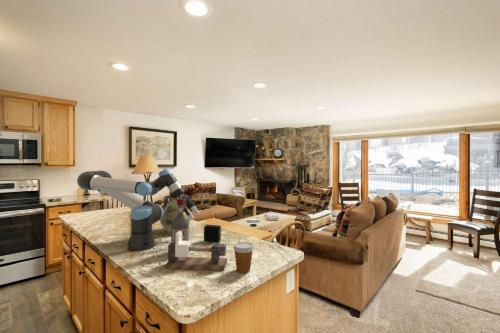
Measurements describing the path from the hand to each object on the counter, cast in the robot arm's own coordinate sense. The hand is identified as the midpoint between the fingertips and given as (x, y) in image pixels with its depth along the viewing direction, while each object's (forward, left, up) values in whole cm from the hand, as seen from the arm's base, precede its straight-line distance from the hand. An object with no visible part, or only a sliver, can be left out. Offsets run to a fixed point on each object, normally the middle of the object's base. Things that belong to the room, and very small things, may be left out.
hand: (195, 217), depth 159 cm
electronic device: (+11, 0, -16) cm, 19 cm away
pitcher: (-21, +21, -16) cm, 33 cm away
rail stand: (+11, -37, -15) cm, 42 cm away
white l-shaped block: (+4, -37, -10) cm, 39 cm away
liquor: (-3, -21, -16) cm, 27 cm away
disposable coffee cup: (+34, -41, -16) cm, 56 cm away
